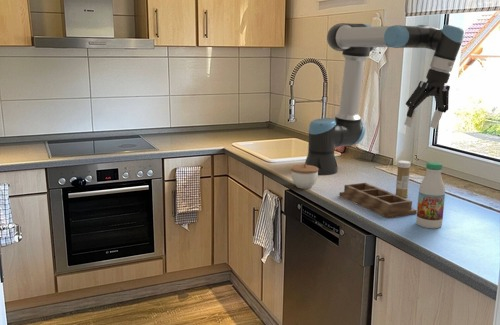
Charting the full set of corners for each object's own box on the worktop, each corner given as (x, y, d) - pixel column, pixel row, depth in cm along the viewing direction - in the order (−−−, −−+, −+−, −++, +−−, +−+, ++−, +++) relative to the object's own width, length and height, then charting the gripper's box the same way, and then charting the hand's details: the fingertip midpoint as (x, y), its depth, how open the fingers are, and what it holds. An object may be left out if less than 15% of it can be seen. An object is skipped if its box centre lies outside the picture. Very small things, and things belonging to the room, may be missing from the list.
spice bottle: (393, 194, 189) (395, 160, 186) (405, 194, 189) (407, 160, 186) (397, 198, 184) (400, 163, 181) (409, 198, 185) (412, 162, 182)
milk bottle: (412, 220, 160) (417, 160, 156) (435, 220, 161) (441, 160, 156) (421, 229, 153) (427, 166, 148) (446, 229, 153) (452, 166, 149)
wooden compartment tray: (339, 195, 187) (339, 184, 186) (365, 192, 192) (366, 181, 191) (387, 218, 162) (388, 206, 161) (416, 213, 167) (417, 201, 166)
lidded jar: (300, 181, 207) (301, 159, 204) (322, 186, 200) (323, 163, 198) (285, 187, 198) (286, 164, 196) (308, 191, 192) (309, 168, 190)
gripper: (424, 68, 167) (403, 128, 174) (470, 76, 179) (450, 131, 186) (407, 63, 173) (389, 121, 180) (454, 71, 185) (435, 124, 192)
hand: (420, 126), depth 183 cm, fingers open, 13 cm apart
